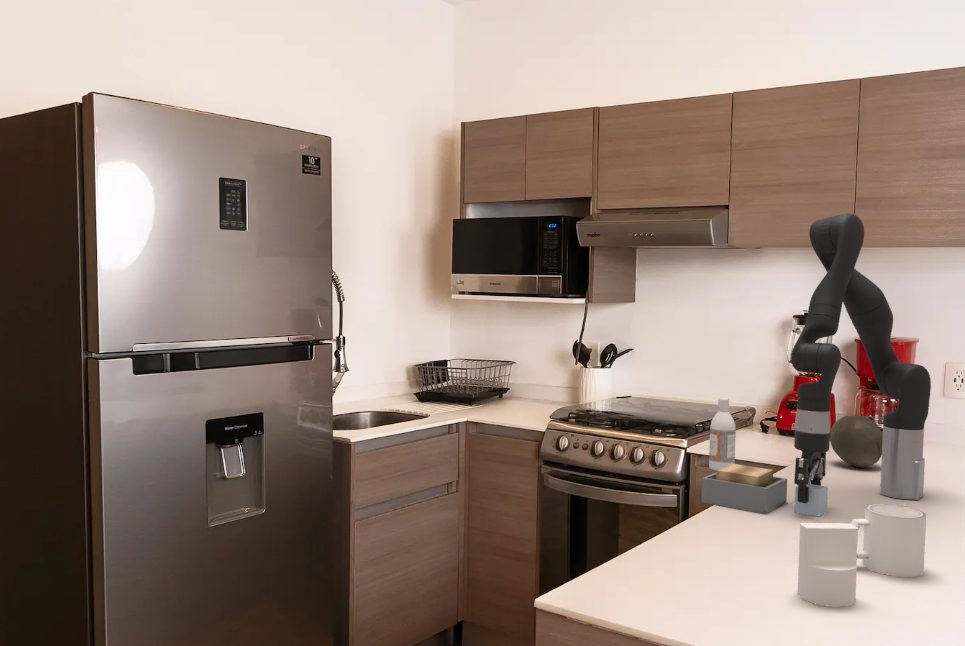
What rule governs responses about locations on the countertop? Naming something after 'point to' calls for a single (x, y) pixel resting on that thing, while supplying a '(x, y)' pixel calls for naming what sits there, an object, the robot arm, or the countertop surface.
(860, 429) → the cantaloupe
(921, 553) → the mug
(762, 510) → the tote
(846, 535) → the base with upright slab
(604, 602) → the countertop surface
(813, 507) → the light blue cube
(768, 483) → the oak block
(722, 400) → the bath foam
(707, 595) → the countertop surface
